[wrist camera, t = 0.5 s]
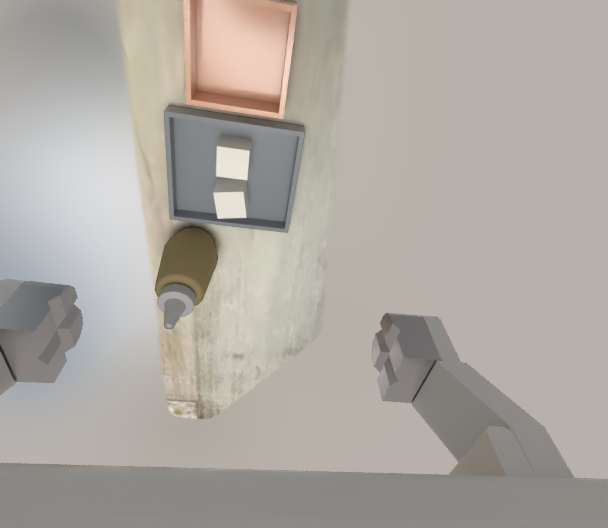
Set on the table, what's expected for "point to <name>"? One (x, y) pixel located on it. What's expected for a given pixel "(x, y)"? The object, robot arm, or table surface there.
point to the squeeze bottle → (184, 273)
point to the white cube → (233, 157)
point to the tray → (202, 178)
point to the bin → (239, 54)
